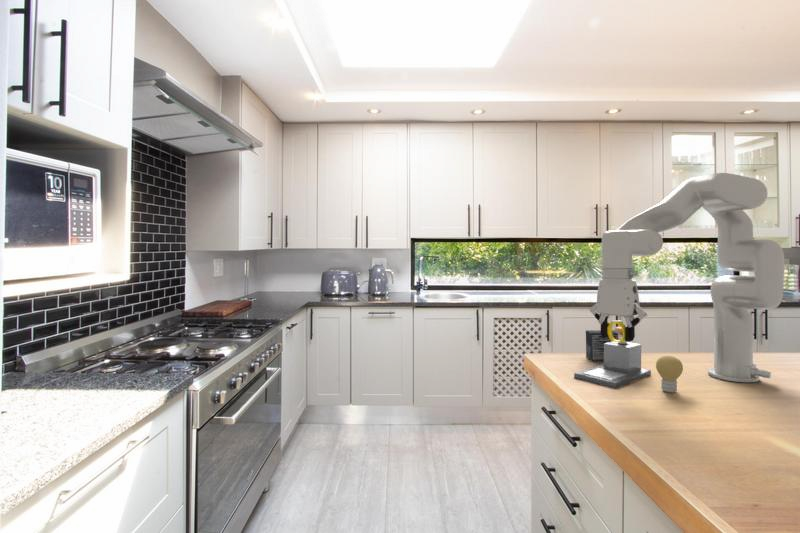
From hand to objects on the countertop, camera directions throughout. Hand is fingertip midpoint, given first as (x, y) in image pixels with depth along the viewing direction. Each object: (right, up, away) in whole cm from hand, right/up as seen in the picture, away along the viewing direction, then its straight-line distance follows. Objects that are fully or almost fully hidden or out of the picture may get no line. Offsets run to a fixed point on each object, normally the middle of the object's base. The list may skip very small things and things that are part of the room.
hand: (617, 338), depth 118 cm
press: (+7, -15, +16) cm, 22 cm away
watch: (0, -1, 0) cm, 1 cm away
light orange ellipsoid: (+11, -7, +19) cm, 23 cm away
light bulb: (+15, -15, +1) cm, 21 cm away
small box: (+14, -14, +37) cm, 42 cm away
